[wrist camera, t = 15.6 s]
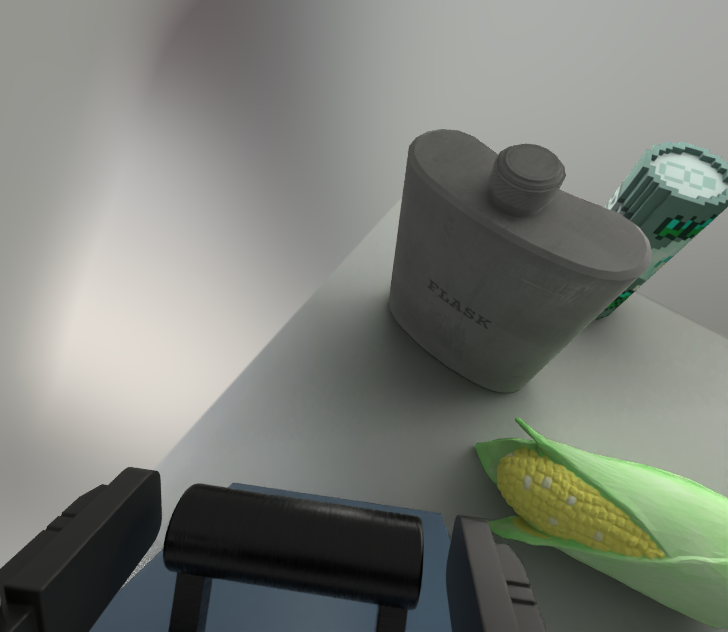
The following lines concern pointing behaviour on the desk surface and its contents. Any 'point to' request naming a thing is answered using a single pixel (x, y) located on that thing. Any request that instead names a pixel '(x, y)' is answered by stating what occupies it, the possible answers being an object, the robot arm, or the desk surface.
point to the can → (670, 201)
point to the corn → (617, 520)
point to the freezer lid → (288, 567)
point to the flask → (502, 258)
